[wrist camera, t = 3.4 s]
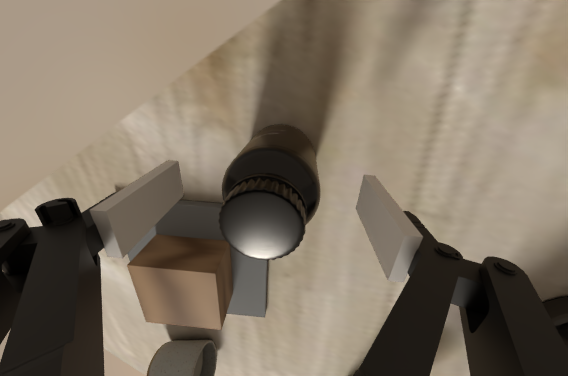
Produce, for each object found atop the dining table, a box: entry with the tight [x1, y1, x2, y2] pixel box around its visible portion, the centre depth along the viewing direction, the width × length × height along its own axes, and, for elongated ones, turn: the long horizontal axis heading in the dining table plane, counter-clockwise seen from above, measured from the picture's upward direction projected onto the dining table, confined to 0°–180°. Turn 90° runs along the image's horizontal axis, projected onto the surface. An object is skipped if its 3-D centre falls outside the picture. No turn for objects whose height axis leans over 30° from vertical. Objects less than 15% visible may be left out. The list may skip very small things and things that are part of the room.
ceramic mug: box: [147, 340, 217, 376], centre depth 35 cm, size 11×8×8 cm
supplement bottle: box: [218, 124, 320, 260], centre depth 17 cm, size 7×7×12 cm
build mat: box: [127, 200, 268, 317], centre depth 29 cm, size 18×18×1 cm
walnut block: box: [127, 234, 233, 330], centre depth 26 cm, size 9×9×5 cm
